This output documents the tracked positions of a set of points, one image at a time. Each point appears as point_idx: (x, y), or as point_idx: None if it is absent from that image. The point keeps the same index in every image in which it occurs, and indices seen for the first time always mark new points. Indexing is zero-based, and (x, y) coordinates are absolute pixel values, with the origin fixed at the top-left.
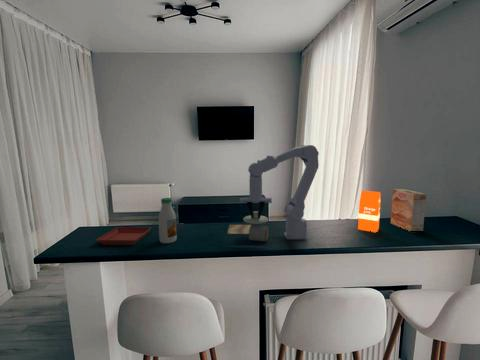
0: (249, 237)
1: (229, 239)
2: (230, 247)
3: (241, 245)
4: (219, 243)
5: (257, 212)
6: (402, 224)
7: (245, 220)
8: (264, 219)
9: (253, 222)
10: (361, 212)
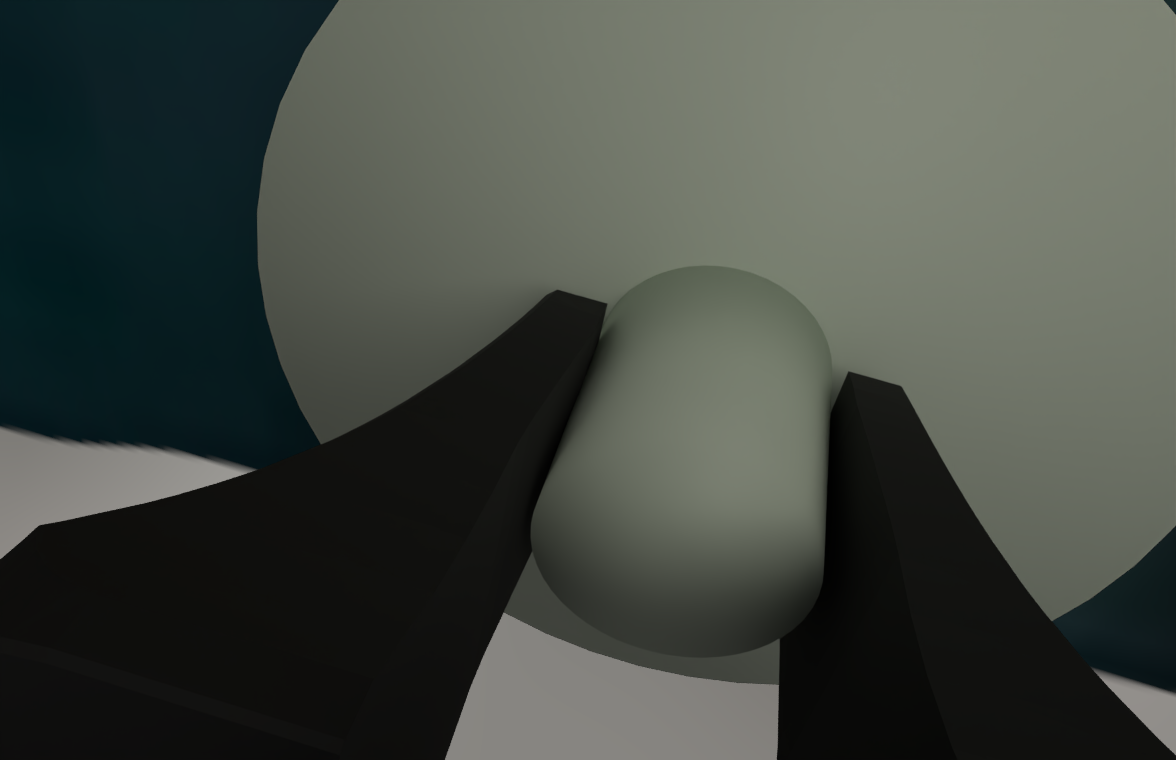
0: None
1: (179, 11)
2: (242, 374)
3: None
4: (32, 174)
5: (741, 617)
6: None
7: (332, 420)
8: (1009, 517)
9: (553, 620)
10: None
